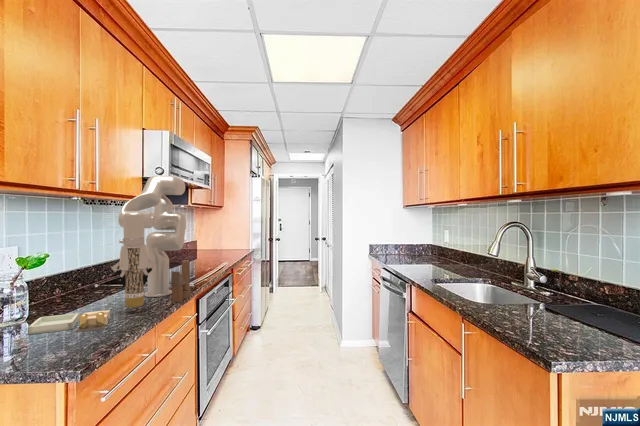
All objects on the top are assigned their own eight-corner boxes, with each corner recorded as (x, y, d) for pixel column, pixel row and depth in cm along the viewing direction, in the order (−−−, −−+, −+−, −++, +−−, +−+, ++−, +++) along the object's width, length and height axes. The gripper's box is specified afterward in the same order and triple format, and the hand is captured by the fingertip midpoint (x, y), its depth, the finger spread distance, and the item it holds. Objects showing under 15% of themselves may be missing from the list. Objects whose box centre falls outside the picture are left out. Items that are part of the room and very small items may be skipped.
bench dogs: (78, 328, 116) (78, 314, 116) (105, 325, 119) (105, 311, 119) (75, 332, 112) (75, 318, 112) (103, 329, 115) (103, 314, 115)
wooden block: (171, 302, 151) (171, 263, 151) (184, 296, 162) (184, 259, 162) (178, 302, 151) (179, 263, 151) (191, 296, 161) (191, 260, 161)
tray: (39, 324, 120) (39, 317, 120) (79, 319, 126) (79, 313, 126) (27, 334, 110) (27, 327, 110) (71, 329, 115) (71, 322, 115)
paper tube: (126, 304, 138) (126, 244, 137) (145, 302, 140) (144, 244, 139) (123, 309, 131) (123, 247, 130) (142, 307, 134) (142, 246, 133)
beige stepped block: (85, 321, 124) (85, 312, 124) (109, 319, 128) (110, 310, 128) (79, 329, 116) (79, 319, 116) (106, 326, 120) (106, 316, 120)
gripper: (107, 244, 128) (108, 289, 128) (157, 242, 135) (157, 285, 136) (110, 242, 134) (111, 285, 135) (157, 240, 142) (158, 281, 143)
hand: (134, 284), depth 135 cm, fingers closed on paper tube, 6 cm apart
